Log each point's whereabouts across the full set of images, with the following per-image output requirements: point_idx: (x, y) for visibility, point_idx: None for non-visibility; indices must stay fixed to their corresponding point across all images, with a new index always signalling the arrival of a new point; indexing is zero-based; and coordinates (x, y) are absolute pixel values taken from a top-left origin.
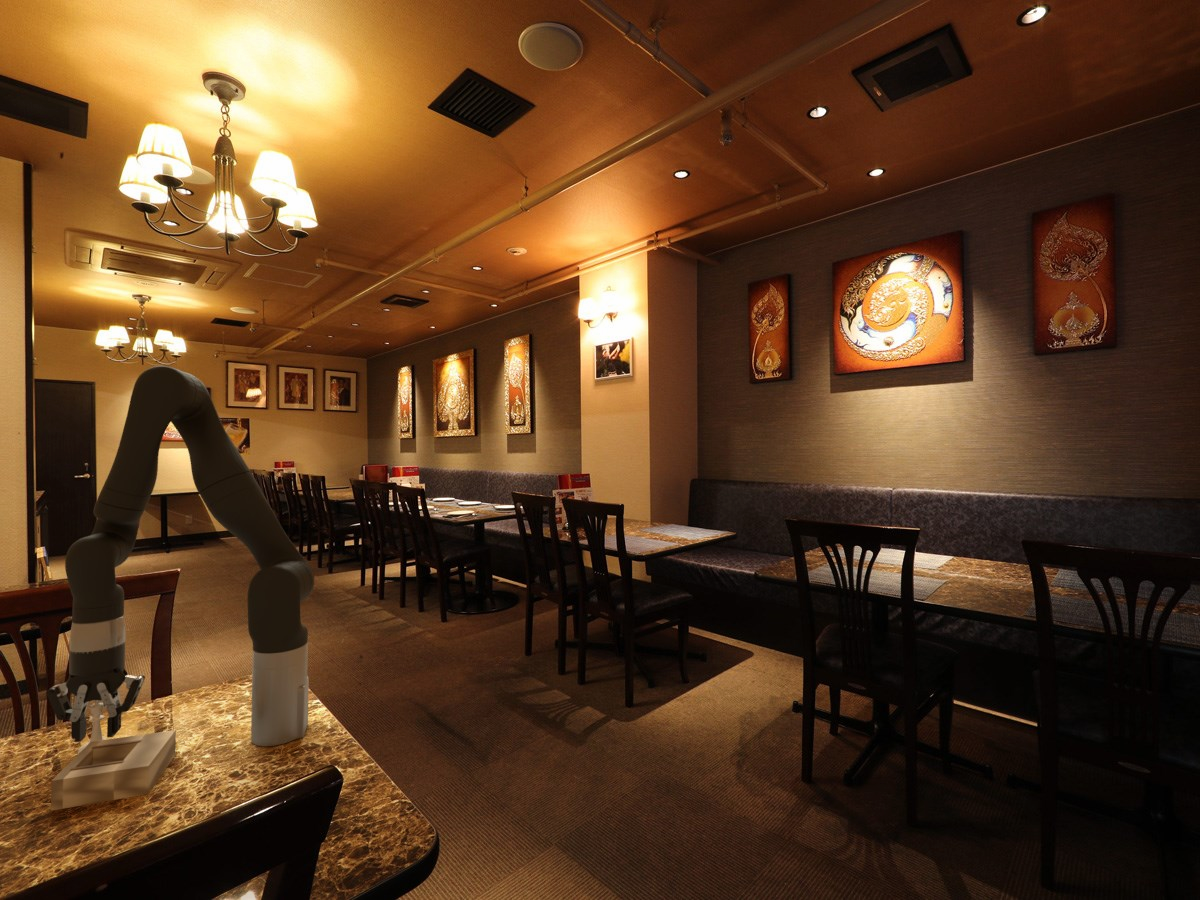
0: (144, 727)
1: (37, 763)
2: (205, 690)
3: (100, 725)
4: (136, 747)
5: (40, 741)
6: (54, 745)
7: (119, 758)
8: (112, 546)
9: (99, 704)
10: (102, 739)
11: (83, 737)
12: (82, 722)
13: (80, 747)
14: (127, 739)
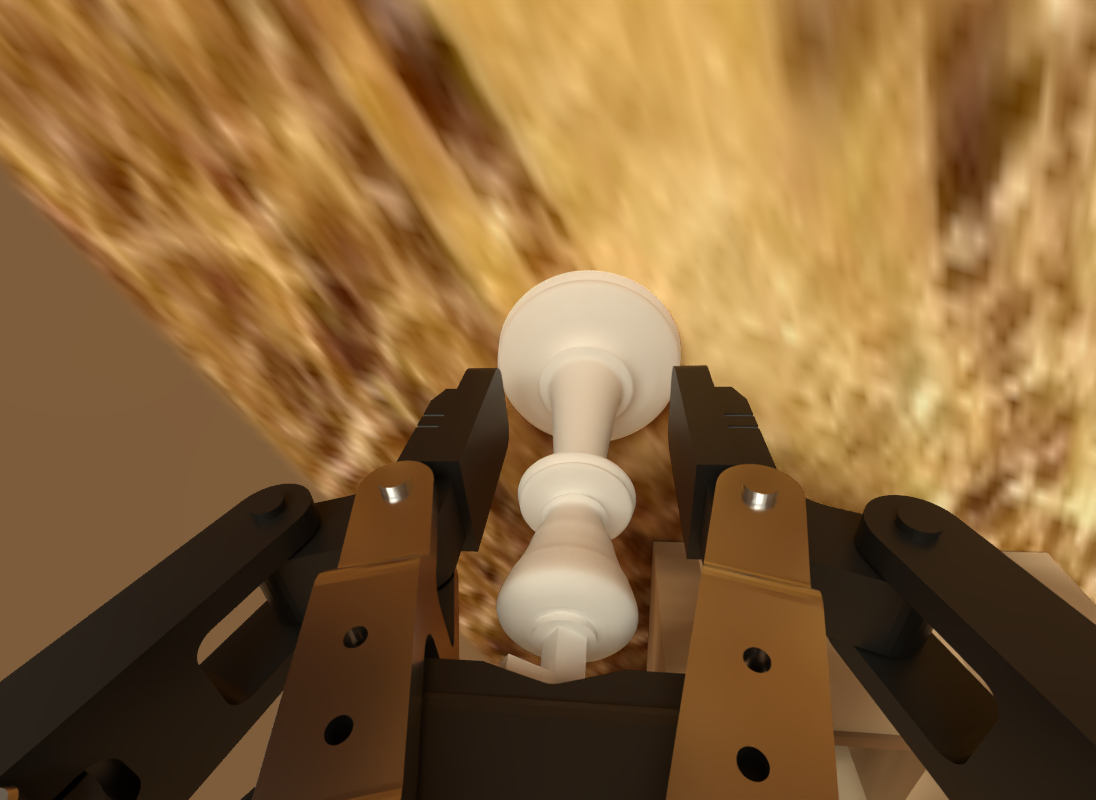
0: (832, 28)
1: (359, 423)
2: None
3: (607, 452)
4: (932, 780)
5: (102, 97)
6: (270, 209)
7: None
8: None
9: (595, 639)
10: (623, 392)
11: (502, 401)
12: (477, 501)
13: (502, 374)
14: (873, 708)
